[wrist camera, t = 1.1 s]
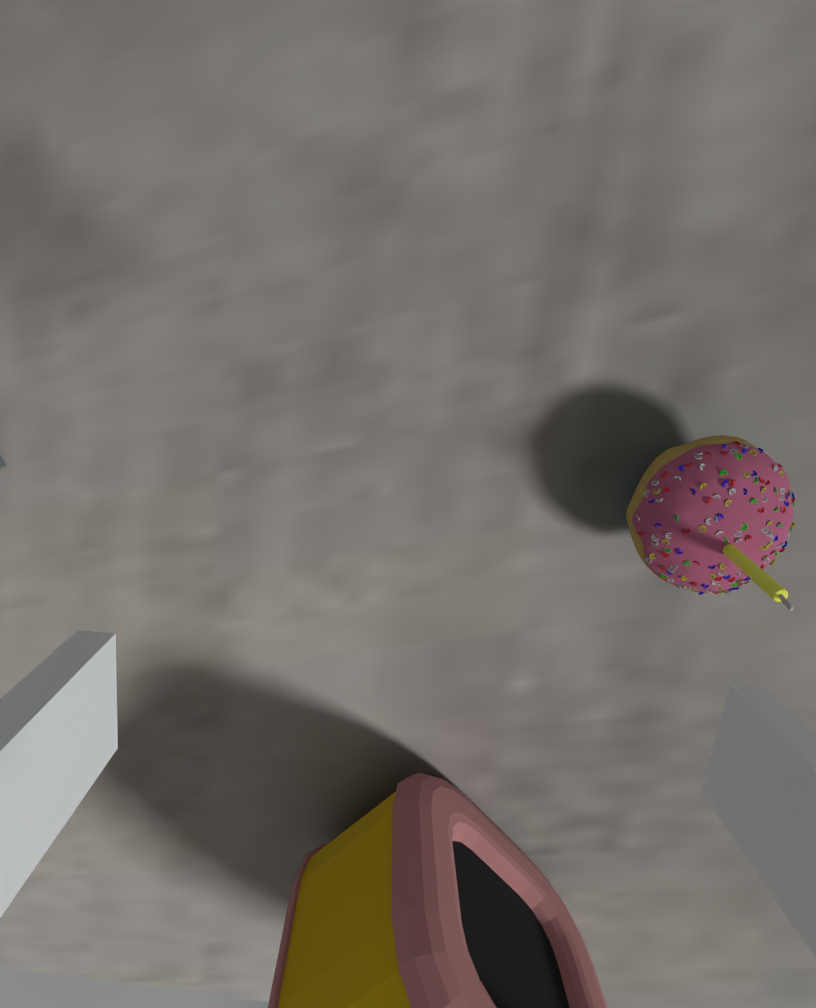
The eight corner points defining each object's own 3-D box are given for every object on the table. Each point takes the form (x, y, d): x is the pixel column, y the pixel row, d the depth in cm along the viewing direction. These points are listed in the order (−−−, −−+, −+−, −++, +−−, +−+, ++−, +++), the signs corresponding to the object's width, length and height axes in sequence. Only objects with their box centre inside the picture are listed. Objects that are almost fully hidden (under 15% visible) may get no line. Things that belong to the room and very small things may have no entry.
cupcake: (730, 563, 38) (880, 656, 26) (596, 563, 37) (686, 656, 26) (750, 427, 36) (923, 461, 24) (608, 426, 35) (713, 460, 24)
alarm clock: (578, 896, 44) (716, 1305, 25) (463, 976, 45) (511, 1418, 26) (410, 730, 40) (423, 1061, 21) (291, 824, 42) (206, 1209, 23)
